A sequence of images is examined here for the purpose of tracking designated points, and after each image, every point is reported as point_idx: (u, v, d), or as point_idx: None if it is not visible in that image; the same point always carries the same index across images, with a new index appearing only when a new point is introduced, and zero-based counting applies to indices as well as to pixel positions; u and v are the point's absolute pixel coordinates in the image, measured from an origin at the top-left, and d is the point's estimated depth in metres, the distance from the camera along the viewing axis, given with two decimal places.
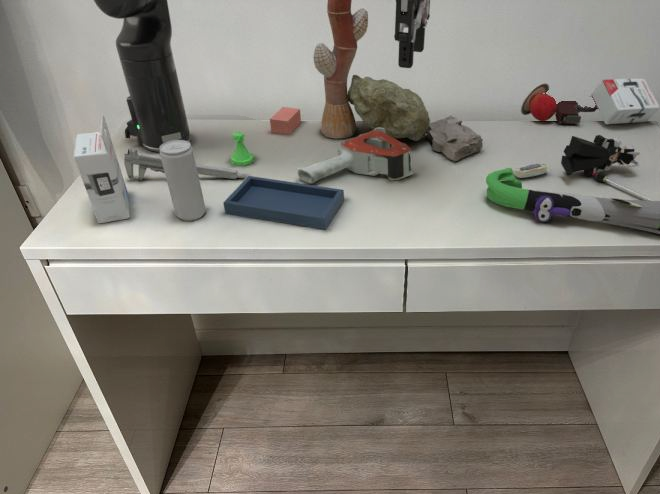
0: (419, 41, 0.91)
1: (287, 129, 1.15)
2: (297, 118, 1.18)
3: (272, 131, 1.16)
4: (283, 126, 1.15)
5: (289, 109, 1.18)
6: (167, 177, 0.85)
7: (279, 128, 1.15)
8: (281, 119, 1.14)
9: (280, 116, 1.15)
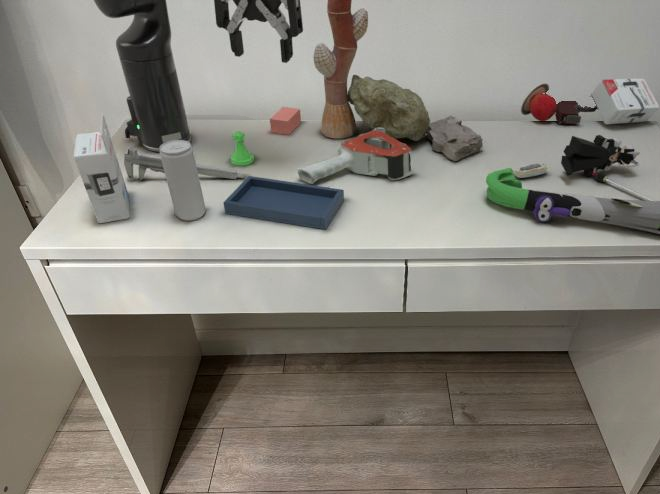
0: (241, 44, 0.93)
1: (287, 129, 1.15)
2: (297, 118, 1.18)
3: (272, 131, 1.16)
4: (283, 126, 1.15)
5: (289, 109, 1.18)
6: (167, 177, 0.85)
7: (279, 128, 1.15)
8: (281, 119, 1.14)
9: (280, 116, 1.15)
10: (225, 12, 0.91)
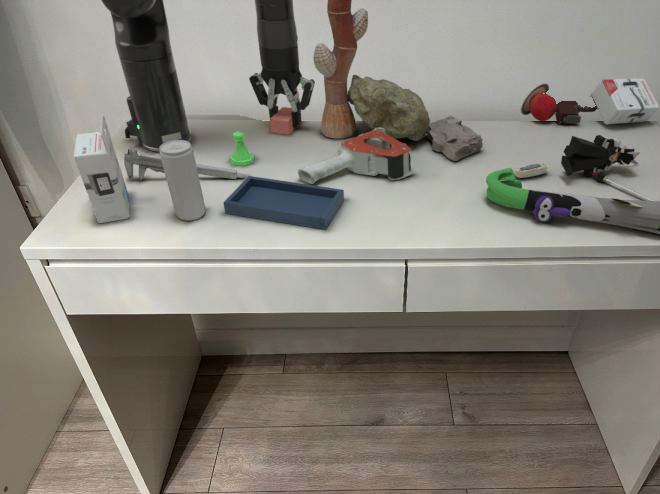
0: None
1: (287, 129, 1.15)
2: None
3: (272, 131, 1.16)
4: (283, 126, 1.15)
5: (289, 109, 1.18)
6: (167, 177, 0.85)
7: (279, 128, 1.15)
8: (281, 119, 1.14)
9: (279, 116, 1.15)
10: (263, 92, 1.16)
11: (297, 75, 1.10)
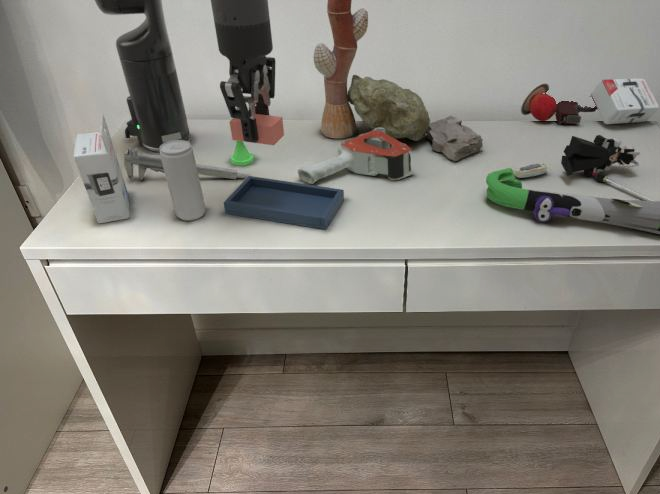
0: None
1: (282, 128, 0.86)
2: None
3: (274, 142, 0.84)
4: (280, 127, 0.85)
5: None
6: (167, 177, 0.85)
7: (278, 133, 0.85)
8: (274, 120, 0.84)
9: (265, 121, 0.84)
10: None
11: None
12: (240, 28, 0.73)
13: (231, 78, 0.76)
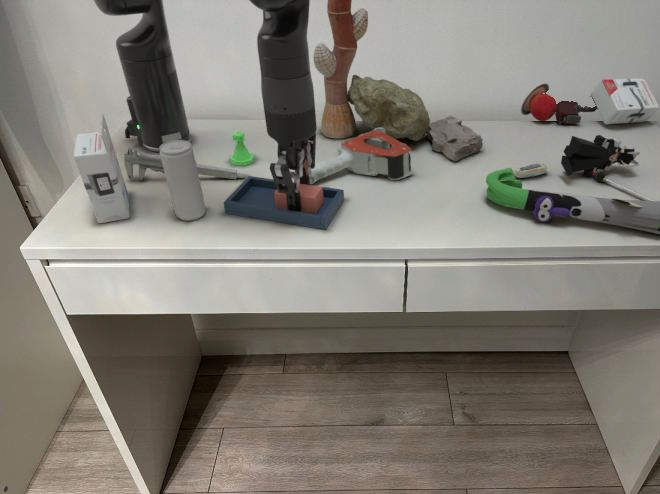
0: None
1: (322, 196, 0.92)
2: None
3: (316, 211, 0.90)
4: (321, 196, 0.91)
5: None
6: (167, 177, 0.85)
7: (319, 201, 0.91)
8: (315, 190, 0.90)
9: (307, 192, 0.90)
10: None
11: None
12: (289, 116, 0.79)
13: (280, 160, 0.82)
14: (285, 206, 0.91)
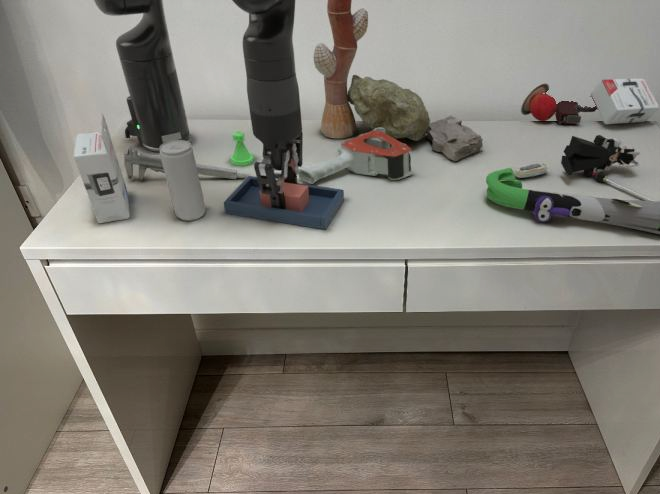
0: None
1: (308, 195, 0.93)
2: None
3: (301, 210, 0.91)
4: (306, 195, 0.92)
5: None
6: (167, 177, 0.85)
7: (304, 201, 0.91)
8: (301, 190, 0.90)
9: (292, 191, 0.90)
10: None
11: None
12: (274, 117, 0.80)
13: (264, 159, 0.82)
14: (270, 205, 0.91)
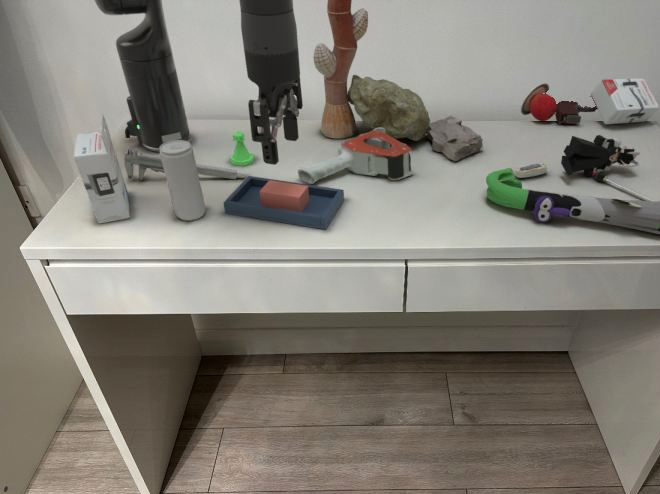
0: None
1: (308, 195, 0.93)
2: None
3: (301, 210, 0.91)
4: (306, 195, 0.92)
5: (269, 186, 0.91)
6: (167, 177, 0.85)
7: (304, 201, 0.91)
8: (301, 190, 0.90)
9: (292, 191, 0.90)
10: (256, 127, 0.79)
11: None
12: (271, 57, 0.75)
13: (260, 99, 0.77)
14: (270, 205, 0.91)
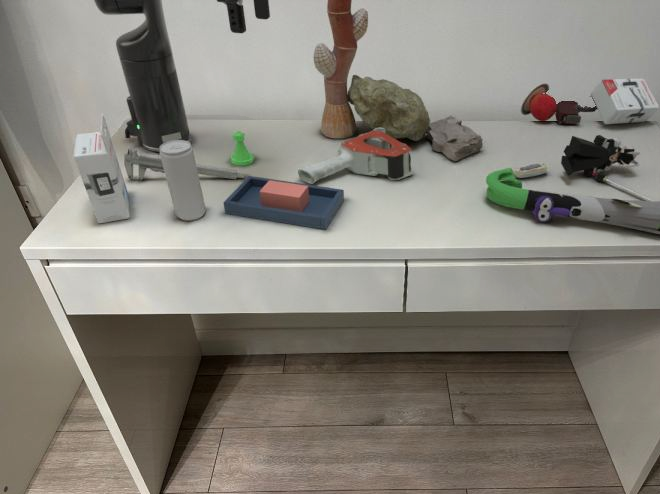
0: None
1: (308, 195, 0.93)
2: None
3: (301, 210, 0.91)
4: (306, 195, 0.92)
5: (269, 186, 0.91)
6: (167, 177, 0.85)
7: (304, 201, 0.91)
8: (301, 190, 0.90)
9: (292, 191, 0.90)
10: None
11: None
12: None
13: None
14: (270, 205, 0.91)
